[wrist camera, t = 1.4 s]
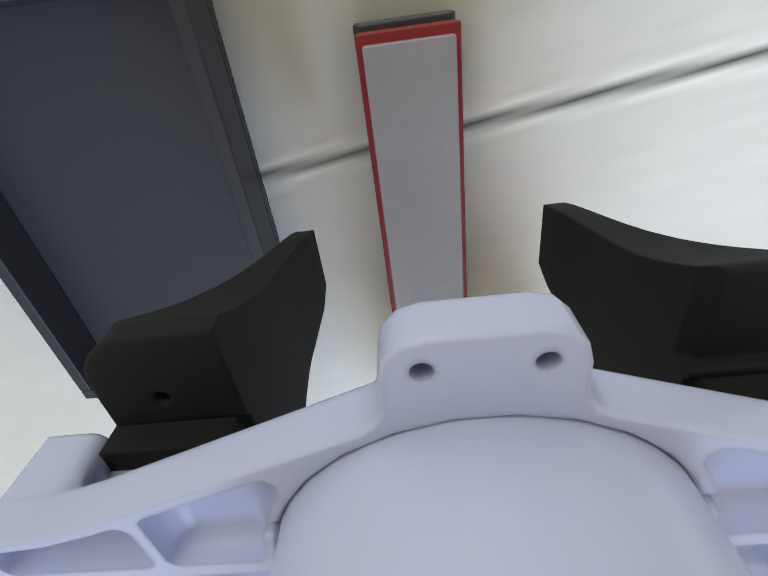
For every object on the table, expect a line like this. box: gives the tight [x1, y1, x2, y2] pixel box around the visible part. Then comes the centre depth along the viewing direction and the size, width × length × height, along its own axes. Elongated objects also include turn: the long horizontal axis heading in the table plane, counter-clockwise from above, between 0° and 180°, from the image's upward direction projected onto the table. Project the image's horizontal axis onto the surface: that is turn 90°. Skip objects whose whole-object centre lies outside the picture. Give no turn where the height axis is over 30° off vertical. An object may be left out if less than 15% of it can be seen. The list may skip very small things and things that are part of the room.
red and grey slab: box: [353, 10, 467, 313], centre depth 18 cm, size 13×4×4 cm, turn 7°
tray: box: [0, 0, 280, 399], centre depth 20 cm, size 18×12×2 cm
